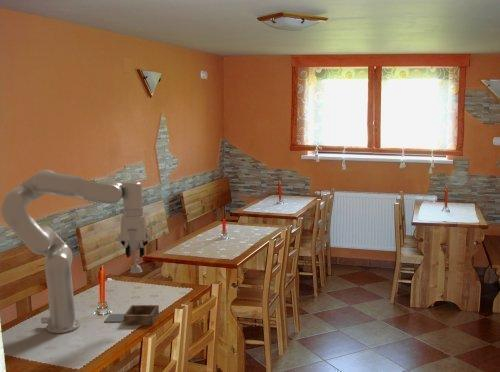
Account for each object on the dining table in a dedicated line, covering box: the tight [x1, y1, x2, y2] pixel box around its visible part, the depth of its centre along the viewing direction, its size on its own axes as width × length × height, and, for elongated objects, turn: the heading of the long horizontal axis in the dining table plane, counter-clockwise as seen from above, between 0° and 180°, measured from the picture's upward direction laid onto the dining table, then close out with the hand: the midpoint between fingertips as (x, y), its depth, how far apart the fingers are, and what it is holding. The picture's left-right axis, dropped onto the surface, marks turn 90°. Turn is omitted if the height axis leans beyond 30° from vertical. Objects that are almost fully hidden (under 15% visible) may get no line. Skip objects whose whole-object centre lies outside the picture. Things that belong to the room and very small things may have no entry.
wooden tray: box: [123, 304, 160, 326], centre depth 233 cm, size 12×12×4 cm
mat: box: [103, 313, 125, 323], centre depth 235 cm, size 8×8×1 cm
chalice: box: [127, 230, 143, 274], centre depth 229 cm, size 7×7×18 cm
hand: (135, 256), depth 229 cm, fingers closed on chalice, 4 cm apart
